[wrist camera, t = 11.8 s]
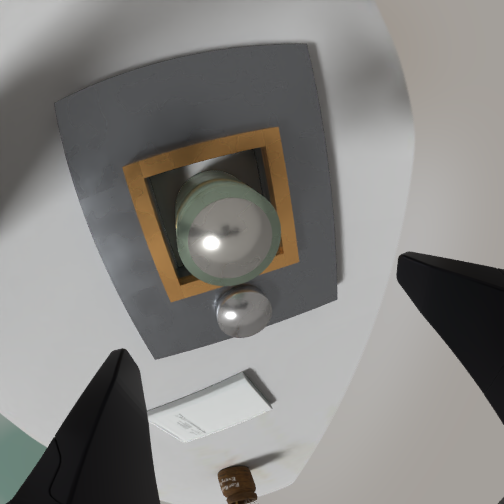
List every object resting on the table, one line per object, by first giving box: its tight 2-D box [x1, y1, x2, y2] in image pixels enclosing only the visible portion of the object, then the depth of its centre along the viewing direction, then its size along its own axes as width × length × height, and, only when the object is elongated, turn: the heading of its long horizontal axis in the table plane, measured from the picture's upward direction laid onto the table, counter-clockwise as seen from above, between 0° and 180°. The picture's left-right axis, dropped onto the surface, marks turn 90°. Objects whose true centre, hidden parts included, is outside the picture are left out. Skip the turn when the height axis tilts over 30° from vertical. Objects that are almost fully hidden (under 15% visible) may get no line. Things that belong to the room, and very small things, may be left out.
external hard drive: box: [147, 372, 272, 443], centre depth 27 cm, size 2×8×12 cm
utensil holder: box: [218, 466, 257, 504], centre depth 32 cm, size 6×6×12 cm
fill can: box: [175, 170, 281, 286], centre depth 15 cm, size 5×5×6 cm
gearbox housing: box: [54, 44, 337, 360], centre depth 17 cm, size 16×20×2 cm
